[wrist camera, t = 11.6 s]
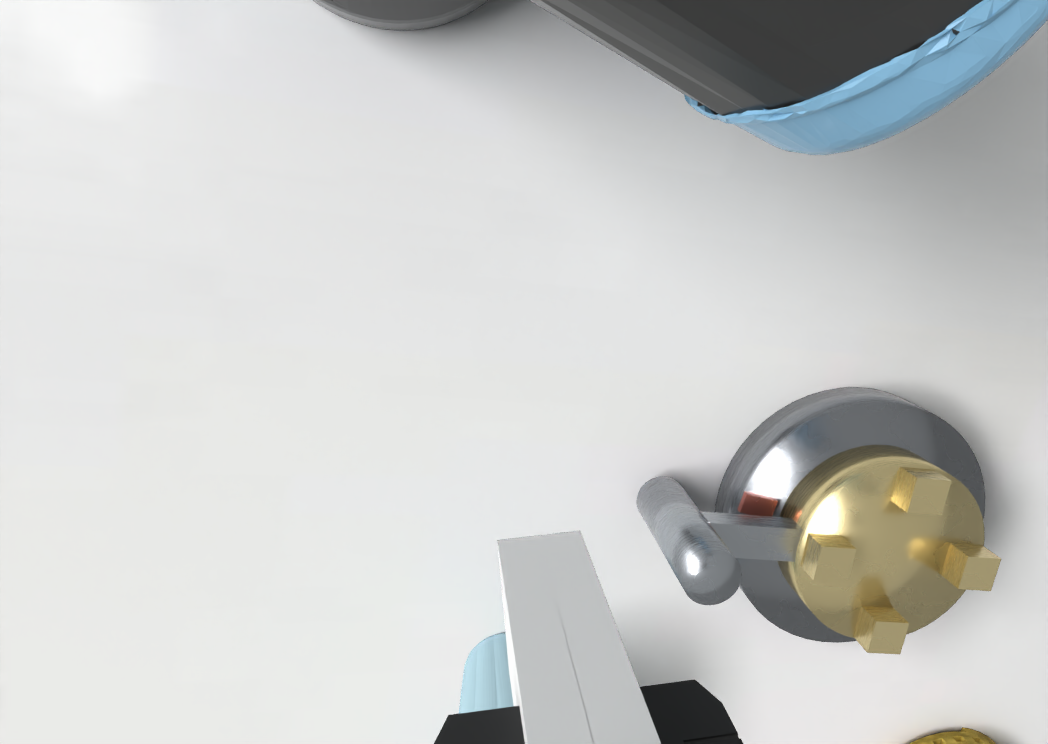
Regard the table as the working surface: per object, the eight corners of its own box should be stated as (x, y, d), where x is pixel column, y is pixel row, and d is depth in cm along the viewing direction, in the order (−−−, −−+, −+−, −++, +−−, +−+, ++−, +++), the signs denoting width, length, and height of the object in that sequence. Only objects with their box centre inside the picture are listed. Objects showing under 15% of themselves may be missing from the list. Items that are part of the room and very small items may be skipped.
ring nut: (945, 438, 46) (1062, 501, 37) (900, 594, 49) (998, 686, 40) (652, 411, 43) (704, 472, 35) (622, 578, 46) (663, 672, 38)
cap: (714, 400, 45) (736, 418, 41) (963, 375, 46) (1003, 391, 43) (714, 628, 49) (733, 661, 46) (941, 599, 50) (975, 629, 47)
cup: (551, 603, 47) (580, 720, 37) (575, 699, 49) (608, 834, 40) (435, 633, 47) (433, 759, 37) (465, 728, 49) (470, 872, 39)
